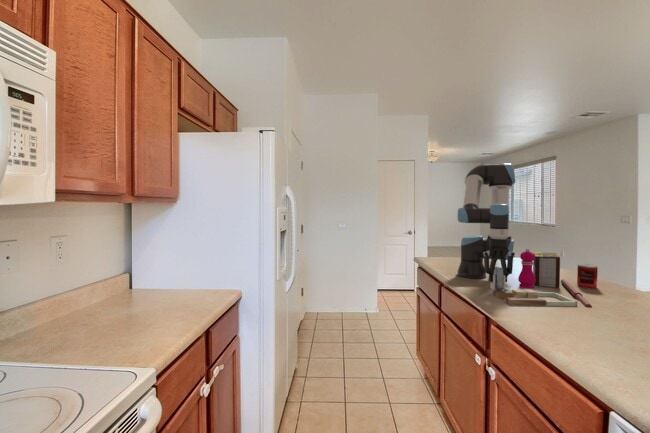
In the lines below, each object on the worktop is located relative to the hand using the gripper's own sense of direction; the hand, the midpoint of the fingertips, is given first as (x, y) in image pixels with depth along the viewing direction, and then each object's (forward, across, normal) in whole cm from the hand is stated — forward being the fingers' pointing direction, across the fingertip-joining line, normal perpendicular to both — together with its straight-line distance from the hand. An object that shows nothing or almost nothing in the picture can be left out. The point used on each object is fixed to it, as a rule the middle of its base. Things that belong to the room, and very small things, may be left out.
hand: (497, 288), depth 144 cm
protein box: (+3, +35, +23) cm, 42 cm away
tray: (+3, +17, -10) cm, 20 cm away
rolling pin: (+4, +35, +3) cm, 36 cm away
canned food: (+3, +52, +18) cm, 55 cm away
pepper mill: (+3, +20, +13) cm, 24 cm away
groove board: (+3, +4, -10) cm, 11 cm away
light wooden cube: (+2, +8, -10) cm, 13 cm away
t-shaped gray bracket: (+3, +2, 0) cm, 4 cm away
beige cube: (+2, +4, -10) cm, 11 cm away
